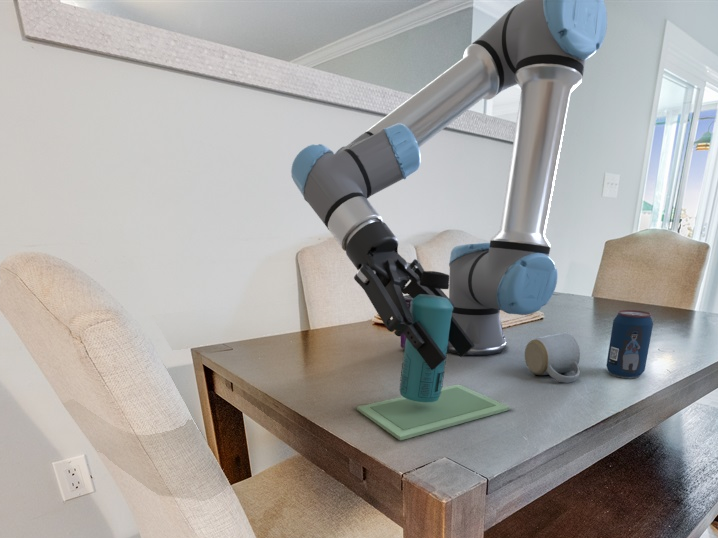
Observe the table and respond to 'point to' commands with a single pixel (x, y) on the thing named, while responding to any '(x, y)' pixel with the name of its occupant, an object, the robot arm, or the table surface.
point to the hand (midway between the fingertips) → (453, 357)
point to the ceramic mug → (554, 356)
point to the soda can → (629, 343)
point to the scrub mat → (431, 412)
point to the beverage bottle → (436, 321)
